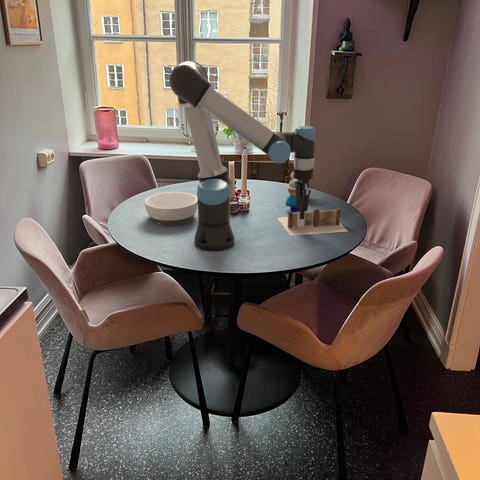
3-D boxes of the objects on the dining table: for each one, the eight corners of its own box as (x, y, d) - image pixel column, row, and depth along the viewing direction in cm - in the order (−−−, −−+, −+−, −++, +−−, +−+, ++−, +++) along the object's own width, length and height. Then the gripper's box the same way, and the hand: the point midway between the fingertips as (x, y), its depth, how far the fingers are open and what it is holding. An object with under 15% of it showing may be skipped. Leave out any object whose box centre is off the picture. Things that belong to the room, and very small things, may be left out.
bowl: (142, 212, 215) (141, 194, 211) (192, 207, 221) (191, 189, 218) (150, 230, 195) (148, 211, 192) (204, 224, 201) (203, 205, 198)
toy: (303, 215, 211) (305, 182, 205) (283, 214, 212) (285, 181, 207) (305, 209, 219) (307, 176, 213) (286, 207, 220) (287, 175, 214)
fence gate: (310, 224, 199) (311, 210, 197) (312, 226, 198) (313, 211, 195) (287, 226, 197) (287, 211, 195) (288, 227, 196) (289, 213, 193)
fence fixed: (313, 227, 197) (314, 210, 195) (311, 225, 200) (312, 208, 197) (340, 225, 199) (341, 208, 197) (338, 223, 202) (339, 206, 199)
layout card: (290, 236, 189) (290, 235, 189) (277, 218, 207) (277, 217, 207) (348, 232, 194) (348, 231, 193) (330, 215, 212) (330, 214, 211)
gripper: (318, 172, 179) (314, 231, 188) (307, 163, 191) (304, 219, 200) (299, 173, 178) (296, 232, 187) (289, 164, 189) (287, 220, 199)
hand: (300, 225), depth 193 cm, fingers closed
